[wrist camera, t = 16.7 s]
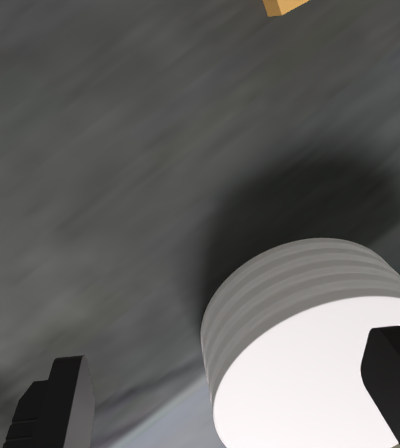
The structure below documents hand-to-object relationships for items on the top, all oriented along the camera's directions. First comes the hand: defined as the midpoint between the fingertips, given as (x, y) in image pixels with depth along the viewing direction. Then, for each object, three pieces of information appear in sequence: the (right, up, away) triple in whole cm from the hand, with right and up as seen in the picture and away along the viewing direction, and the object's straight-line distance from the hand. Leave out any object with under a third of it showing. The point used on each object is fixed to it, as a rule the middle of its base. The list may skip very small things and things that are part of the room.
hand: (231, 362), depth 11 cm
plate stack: (+13, -10, +42) cm, 45 cm away
